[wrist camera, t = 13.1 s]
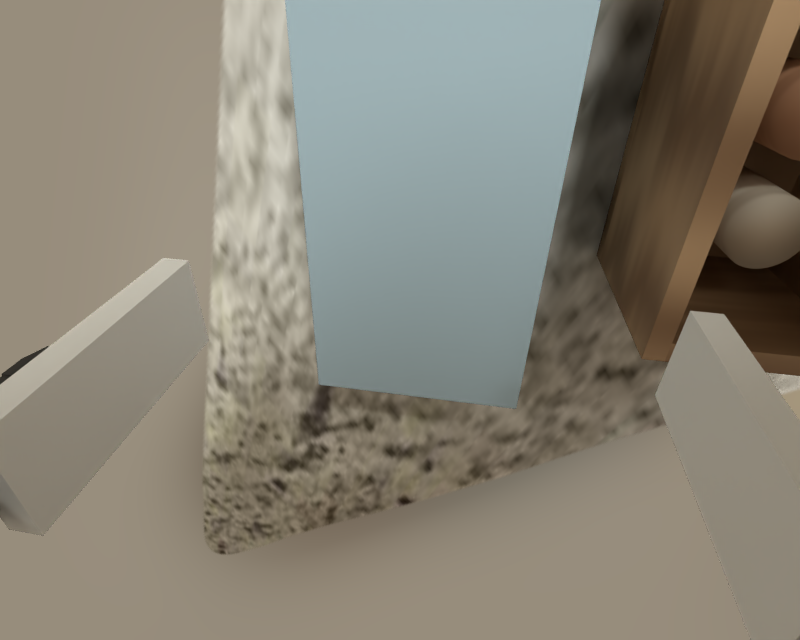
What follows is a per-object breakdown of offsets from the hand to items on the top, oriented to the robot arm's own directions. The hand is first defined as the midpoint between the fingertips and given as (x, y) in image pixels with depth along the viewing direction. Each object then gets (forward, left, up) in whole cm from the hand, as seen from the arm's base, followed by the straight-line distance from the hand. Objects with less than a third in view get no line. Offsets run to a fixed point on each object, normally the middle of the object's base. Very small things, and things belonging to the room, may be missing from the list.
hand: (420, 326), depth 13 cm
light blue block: (+1, -1, -14) cm, 14 cm away
